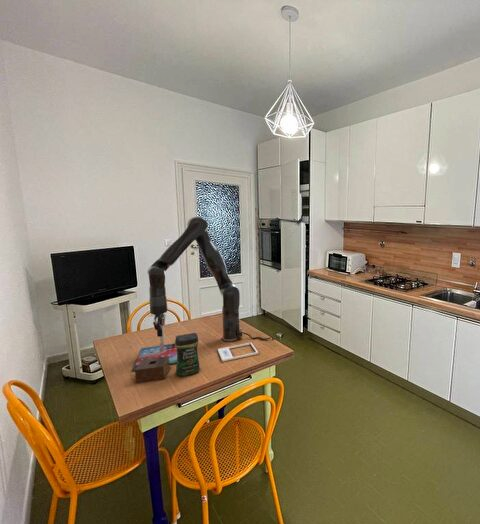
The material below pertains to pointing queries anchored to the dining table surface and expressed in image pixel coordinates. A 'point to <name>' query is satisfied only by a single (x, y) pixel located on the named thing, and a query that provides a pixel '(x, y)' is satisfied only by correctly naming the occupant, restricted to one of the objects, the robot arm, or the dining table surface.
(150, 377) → the holder
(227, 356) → the photo frame
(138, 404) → the dining table surface
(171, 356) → the tablet
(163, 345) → the stylus
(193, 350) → the coffee jar
